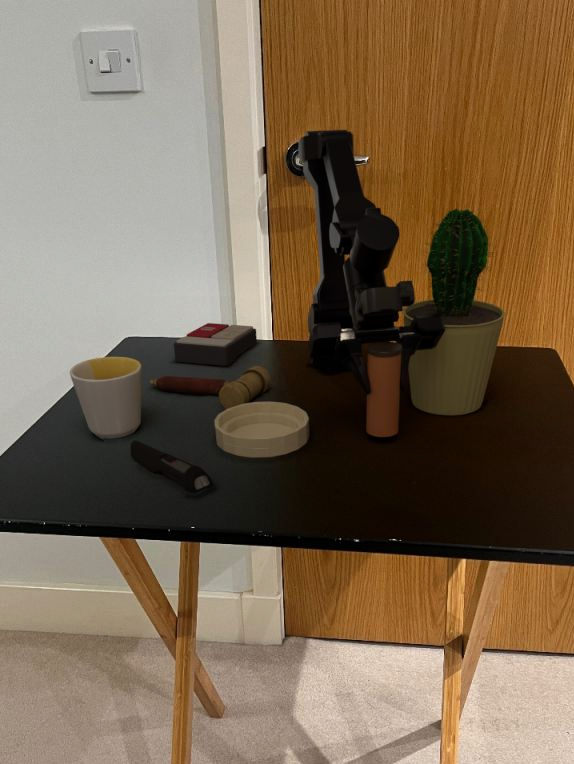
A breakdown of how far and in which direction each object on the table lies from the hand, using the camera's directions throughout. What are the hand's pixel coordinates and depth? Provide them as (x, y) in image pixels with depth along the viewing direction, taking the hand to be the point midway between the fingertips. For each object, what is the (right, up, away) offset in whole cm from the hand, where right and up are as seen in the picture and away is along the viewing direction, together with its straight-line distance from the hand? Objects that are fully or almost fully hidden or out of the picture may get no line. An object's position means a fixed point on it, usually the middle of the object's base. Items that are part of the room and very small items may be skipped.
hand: (385, 391), depth 105 cm
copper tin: (0, -5, +4) cm, 7 cm away
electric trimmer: (-30, -12, -2) cm, 32 cm away
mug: (-39, -4, +12) cm, 41 cm away
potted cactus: (+12, +1, +18) cm, 22 cm away
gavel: (-28, +3, +23) cm, 37 cm away
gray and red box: (-28, +14, +43) cm, 54 cm away
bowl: (-17, -6, +7) cm, 20 cm away
